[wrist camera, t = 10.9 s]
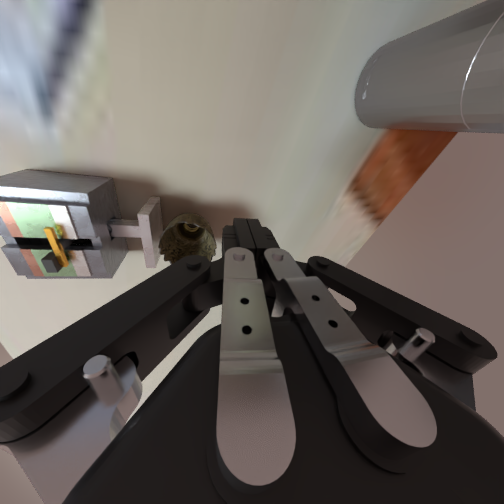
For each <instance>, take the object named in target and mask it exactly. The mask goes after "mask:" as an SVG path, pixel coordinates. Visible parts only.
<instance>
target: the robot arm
mask: <svg viewBox="0 0 504 504" xmlns="http://www.w3.org/2000/svg"><path fill="white" fill-rule="evenodd" d="M355 108H356V112H357V115H358V117H359V119H360V121H361V122H362V123H363V124H364V125H366V126H368V127H372V128H387V129H407V130H431V131H454V132H479V133H480V132H481V133H485V132H486V133H504V0H486V1H484V2H482V3H479V4H477V5H475V6H473V7H470V8H468V9H466V10H463V11H461V12H459V13H456V14H454V15H452V16H449V17H447V18H445V19H442V20H440V21H438V22H435V23H433V24H431V25H428V26H426V27H424V28H422V29H419V30H417V31H414V32H412V33H410V34H407V35H405V36H403V37H400V38H398V39H396V40H393V41H391V42H389V43H387V44H385V45H384V46H382V47H381V48H380V49H379V50H377V51H376V52H375V53H374V54H373V56H372V57H371V58H370V59H369V61H368V62H367V64H366V65H365V67H364V69H363V70H362V73H361V75H360V78H359V80H358V84H357V87H356V93H355ZM328 288H331V289H333V290H335V291H336V292H338V293H340V294H341V295H344V296H345V297H347V298H349V299H350V300H352V301H353V302H354V303H355V305H356V310H355V311H348V310H346V309H344V308H343V307H341V306H340V305H339V303H338V302H337V301H336V299H335V298H334V297H333V295H332V294H331V293H330V292H329V290H328ZM221 304H222V319H221V324H220V325H217V326H215V327H213V328H211V329H210V330H208V331H207V332H205V333H204V334H203V335H202V336H200V337H199V338H198V339H197V340H196V341H195V342H194V344H193V345H192V346H191V347H190V348H189V350H188V351H187V352H186V353H185V354H184V356H183V357H182V358H181V359H180V360H179V362H178V363H177V364H176V365H175V366H174V367H173V369H172V370H171V371H170V372H169V373H168V375H167V376H166V377H165V378H164V379H163V381H162V382H161V383H160V384H159V385H158V387H157V388H156V389H155V390H154V391H153V392H152V394H151V395H150V396H149V397H148V398H147V400H146V401H145V402H144V403H143V404H142V406H141V407H140V408H139V409H138V410H137V412H136V413H135V414H134V415H133V416H132V418H131V419H130V420H129V421H128V422H127V423H126V421H127V420H128V418H129V416H130V415H131V414H132V412H133V411H134V410H135V408H136V407H137V405H138V403H139V401H140V399H141V395H142V383H141V382H142V381H143V380H144V379H145V378H146V377H147V376H148V375H149V374H150V373H151V372H152V371H153V370H154V368H155V367H156V366H157V365H158V364H159V363H160V362H161V361H162V360H163V359H164V358H165V357H166V356H167V355H168V354H169V353H170V352H171V351H172V350H173V349H174V348H175V347H176V346H177V345H178V344H179V343H180V342H181V341H182V340H183V339H184V338H185V337H186V336H187V334H188V333H189V332H190V331H191V330H192V329H193V328H194V327H195V326H196V325H197V324H198V323H199V322H200V321H201V320H202V319H203V318H204V317H205V316H206V315H207V314H208V313H209V311H210V308H212V307H215V306H218V305H221ZM496 358H497V352H496V350H495V348H494V347H493V346H492V345H491V344H490V343H489V342H488V341H487V340H486V339H485V338H484V337H482V336H481V335H480V334H478V333H477V332H475V331H473V330H472V329H470V328H468V327H466V326H464V325H462V324H460V323H457V322H456V321H454V320H452V319H449V318H447V317H445V316H443V315H441V314H439V313H437V312H435V311H433V310H431V309H429V308H427V307H425V306H423V305H421V304H419V303H417V302H415V301H413V300H411V299H409V298H407V297H405V296H403V295H400V294H399V293H396V292H394V291H392V290H390V289H388V288H386V287H384V286H382V285H380V284H378V283H376V282H374V281H372V280H370V279H368V278H366V277H364V276H362V275H360V274H358V273H356V272H354V271H352V270H349V269H347V268H345V267H343V266H341V265H339V264H337V263H335V262H333V261H331V260H329V259H327V258H324V257H320V256H313V257H310V258H309V259H308V262H307V263H303V262H298V261H295V260H294V259H293V257H292V256H291V255H290V253H288V252H287V251H285V250H283V249H280V247H279V245H278V243H277V241H276V240H275V238H274V236H273V234H272V232H271V230H269V229H268V228H267V227H261V224H260V222H259V220H258V219H244V218H234V221H233V226H227V225H226V226H225V227H224V228H223V234H222V258H221V259H219V260H216V261H213V262H210V261H209V260H208V259H207V258H206V257H204V256H200V255H189V256H186V257H183V258H181V259H180V260H178V261H176V262H175V263H173V264H172V265H170V266H168V267H167V268H165V269H163V270H162V271H160V272H158V273H157V274H155V275H153V276H152V277H150V278H148V279H147V280H145V281H143V282H142V283H140V284H138V285H137V286H135V287H133V288H132V289H130V290H128V291H127V292H125V293H123V294H122V295H120V296H118V297H117V298H115V299H113V300H112V301H110V302H108V303H107V304H105V305H103V306H102V307H100V308H98V309H97V310H95V311H93V312H92V313H90V314H88V315H87V316H85V317H83V318H82V319H80V320H78V321H77V322H75V323H73V324H72V325H70V326H68V327H67V328H65V329H63V330H62V331H60V332H58V333H57V334H55V335H53V336H52V337H50V338H48V339H47V340H45V341H43V342H42V343H40V344H38V345H37V346H35V347H33V348H32V349H30V350H28V351H27V352H25V353H23V354H22V355H20V356H18V357H17V358H15V359H13V360H12V361H10V362H8V363H7V364H5V365H3V366H2V367H0V449H2V450H4V451H6V452H8V453H10V454H11V455H13V456H14V457H15V458H16V460H17V461H18V463H19V464H20V466H21V468H22V469H23V470H24V472H25V474H26V475H27V477H28V479H29V480H30V482H31V483H32V485H33V486H34V488H35V490H36V491H37V493H38V494H39V496H40V497H41V499H42V500H43V502H44V504H504V437H503V436H502V435H501V434H500V433H499V432H498V431H497V430H496V429H495V428H494V427H493V426H492V425H491V424H490V423H489V422H487V421H486V420H485V419H484V418H483V417H482V416H480V415H479V414H478V413H477V412H476V409H475V398H474V388H473V378H472V375H473V374H474V373H476V372H477V371H478V370H480V369H481V368H483V367H484V366H486V365H487V364H489V363H490V362H492V361H493V360H494V359H496ZM125 424H126V425H125Z"/></svg>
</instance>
